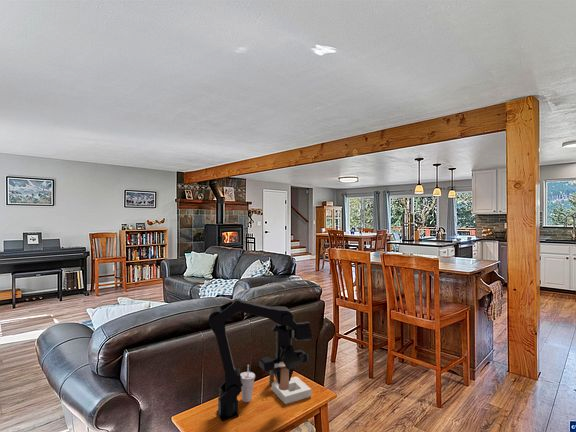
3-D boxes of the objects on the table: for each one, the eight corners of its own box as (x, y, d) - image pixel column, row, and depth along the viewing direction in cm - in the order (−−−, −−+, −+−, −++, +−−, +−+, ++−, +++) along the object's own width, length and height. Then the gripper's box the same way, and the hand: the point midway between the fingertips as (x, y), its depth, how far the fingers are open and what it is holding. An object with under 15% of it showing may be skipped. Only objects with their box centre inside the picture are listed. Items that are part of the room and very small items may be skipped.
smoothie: (247, 405, 128) (247, 369, 128) (235, 400, 132) (235, 365, 132) (258, 398, 133) (258, 363, 133) (246, 393, 137) (247, 359, 137)
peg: (281, 391, 124) (281, 369, 124) (276, 386, 128) (276, 365, 128) (290, 388, 126) (291, 367, 126) (285, 384, 130) (286, 363, 130)
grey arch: (272, 388, 142) (273, 367, 142) (268, 383, 145) (269, 363, 145) (293, 382, 146) (293, 362, 146) (289, 378, 150) (289, 359, 150)
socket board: (285, 404, 130) (285, 396, 130) (271, 389, 140) (271, 382, 140) (311, 396, 135) (311, 389, 135) (296, 383, 146) (296, 376, 146)
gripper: (271, 353, 115) (270, 398, 115) (316, 344, 124) (315, 386, 124) (258, 342, 125) (257, 384, 125) (300, 334, 134) (300, 373, 134)
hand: (283, 382), depth 127 cm, fingers closed on peg, 4 cm apart
